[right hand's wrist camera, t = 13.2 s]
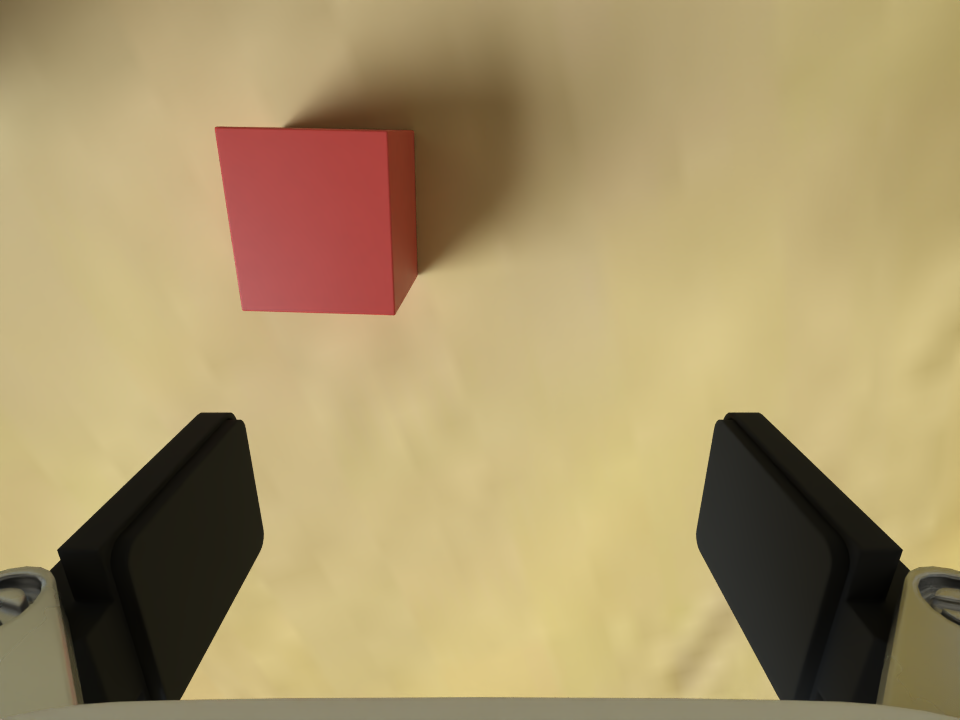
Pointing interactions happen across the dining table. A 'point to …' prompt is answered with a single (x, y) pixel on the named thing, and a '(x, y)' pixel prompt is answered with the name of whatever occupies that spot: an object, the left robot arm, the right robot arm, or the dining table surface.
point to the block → (321, 217)
